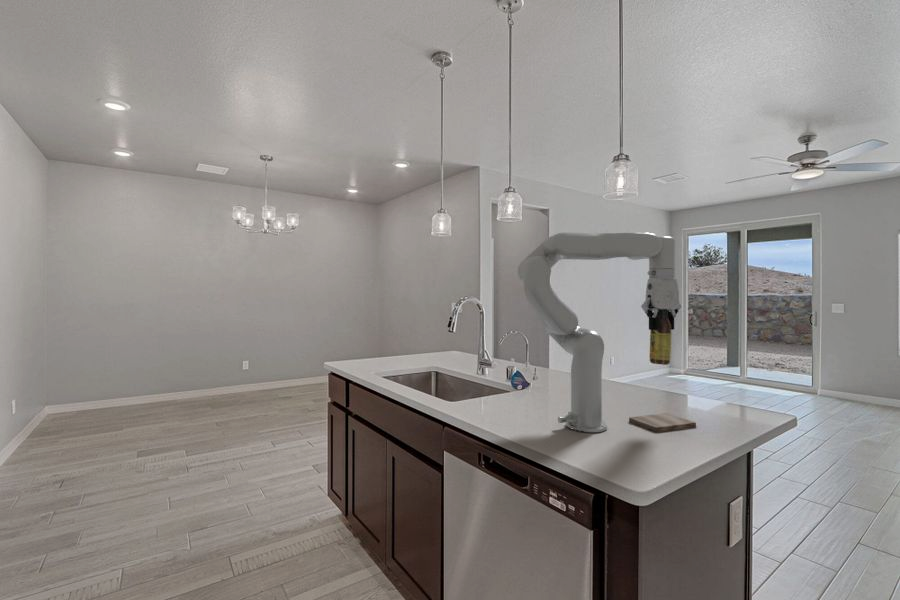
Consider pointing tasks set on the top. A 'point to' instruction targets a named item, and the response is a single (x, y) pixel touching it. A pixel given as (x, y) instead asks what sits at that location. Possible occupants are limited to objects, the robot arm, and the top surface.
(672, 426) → the walnut board
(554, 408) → the top surface
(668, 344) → the sauce bottle
